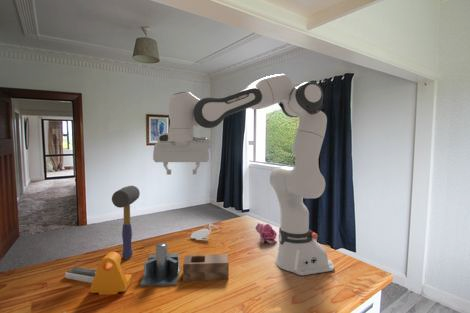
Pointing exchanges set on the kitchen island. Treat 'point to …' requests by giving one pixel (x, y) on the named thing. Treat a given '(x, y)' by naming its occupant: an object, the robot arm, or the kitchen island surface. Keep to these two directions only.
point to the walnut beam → (205, 267)
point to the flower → (266, 233)
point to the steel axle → (161, 260)
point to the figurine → (202, 233)
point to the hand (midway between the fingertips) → (181, 174)
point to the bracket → (110, 276)
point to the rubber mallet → (126, 215)
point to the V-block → (153, 280)
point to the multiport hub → (81, 274)
